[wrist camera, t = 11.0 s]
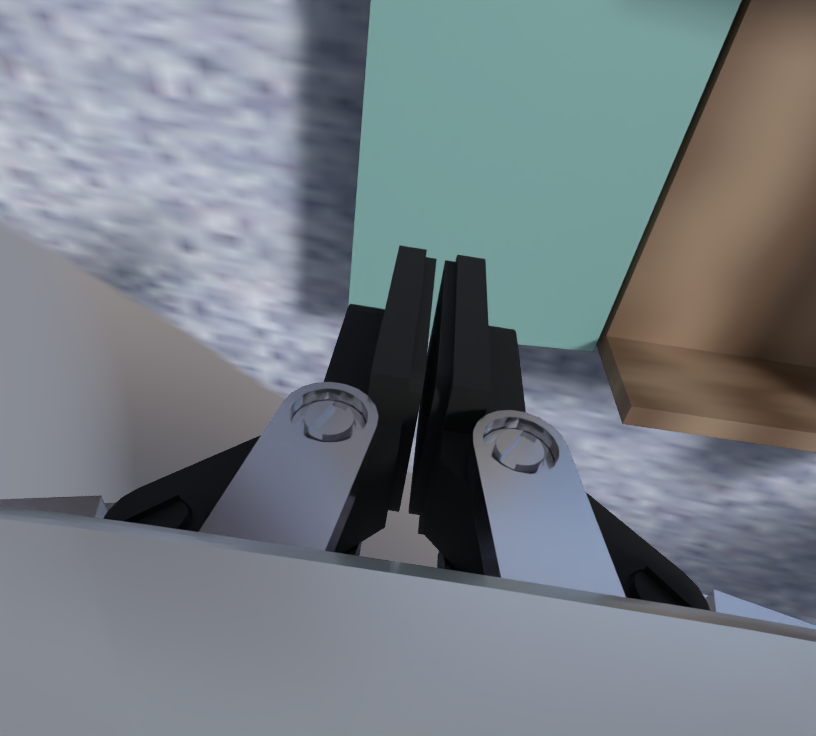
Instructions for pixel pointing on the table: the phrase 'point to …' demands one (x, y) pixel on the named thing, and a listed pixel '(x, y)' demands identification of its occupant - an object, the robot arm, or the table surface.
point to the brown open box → (731, 252)
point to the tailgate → (525, 146)
